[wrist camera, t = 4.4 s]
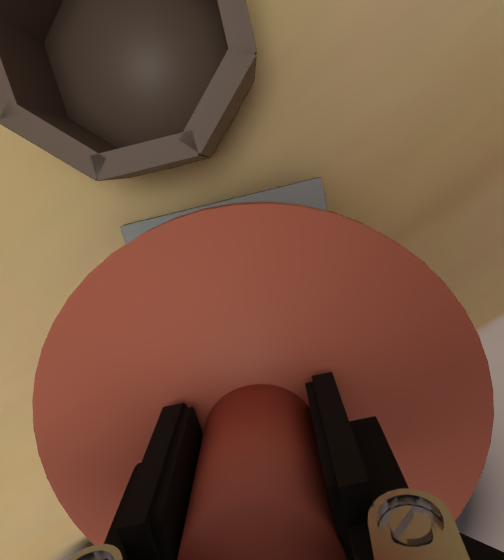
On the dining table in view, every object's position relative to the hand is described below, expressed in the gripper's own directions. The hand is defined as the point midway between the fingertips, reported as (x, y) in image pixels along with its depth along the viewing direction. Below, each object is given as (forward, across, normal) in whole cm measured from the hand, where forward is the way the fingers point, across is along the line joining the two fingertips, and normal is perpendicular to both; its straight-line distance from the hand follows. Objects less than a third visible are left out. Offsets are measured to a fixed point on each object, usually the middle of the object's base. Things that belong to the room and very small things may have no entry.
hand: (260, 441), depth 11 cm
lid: (+1, 0, 0) cm, 1 cm away
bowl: (+14, +3, -13) cm, 19 cm away
